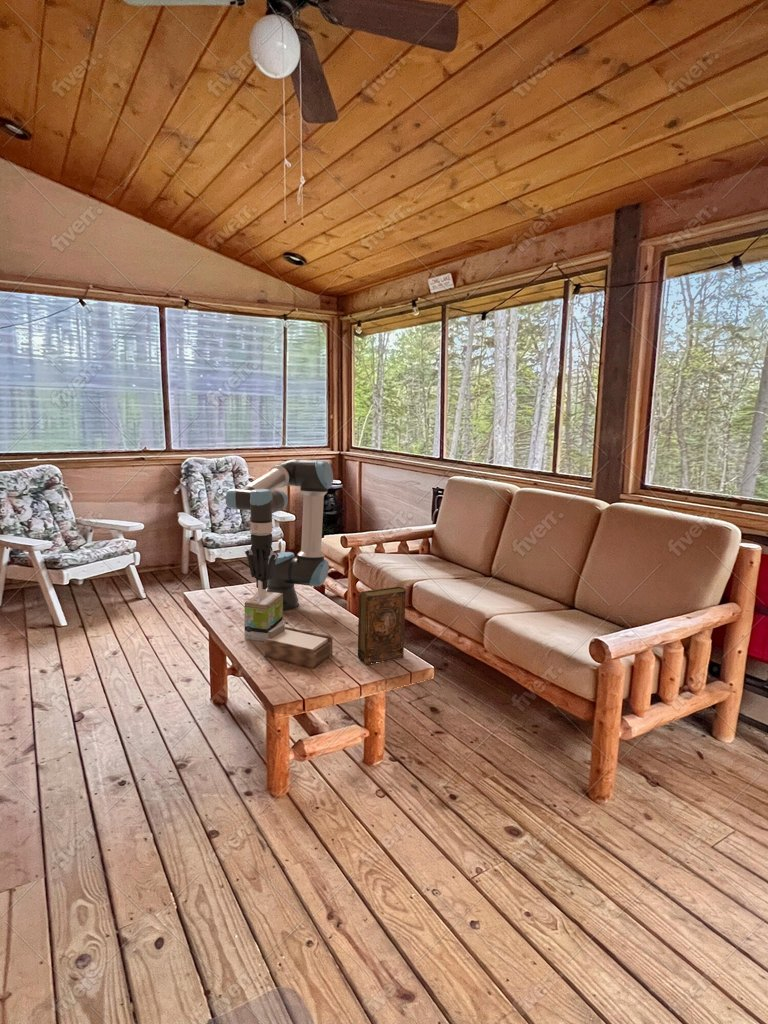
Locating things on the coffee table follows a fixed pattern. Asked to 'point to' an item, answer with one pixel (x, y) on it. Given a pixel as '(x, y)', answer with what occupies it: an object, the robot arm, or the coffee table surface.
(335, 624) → the coffee table surface
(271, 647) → the walnut box
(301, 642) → the cover plate
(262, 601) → the tea box
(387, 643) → the book
